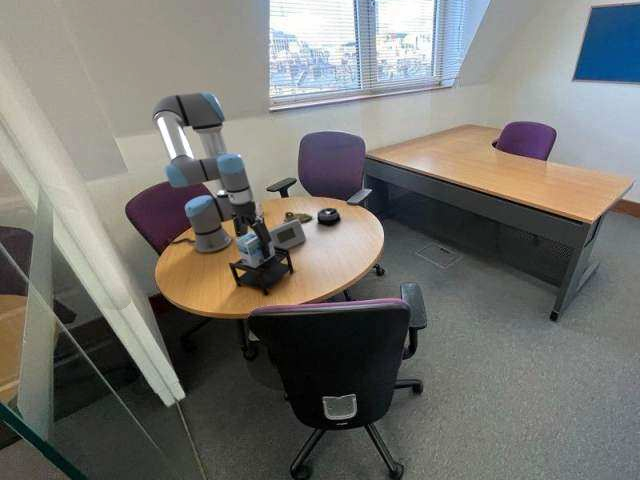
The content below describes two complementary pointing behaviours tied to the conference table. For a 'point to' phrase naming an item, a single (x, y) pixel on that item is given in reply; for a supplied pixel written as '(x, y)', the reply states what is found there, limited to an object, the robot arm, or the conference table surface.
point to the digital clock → (288, 234)
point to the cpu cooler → (328, 216)
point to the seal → (297, 217)
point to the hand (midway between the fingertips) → (259, 255)
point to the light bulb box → (252, 249)
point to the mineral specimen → (258, 210)
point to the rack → (263, 271)
